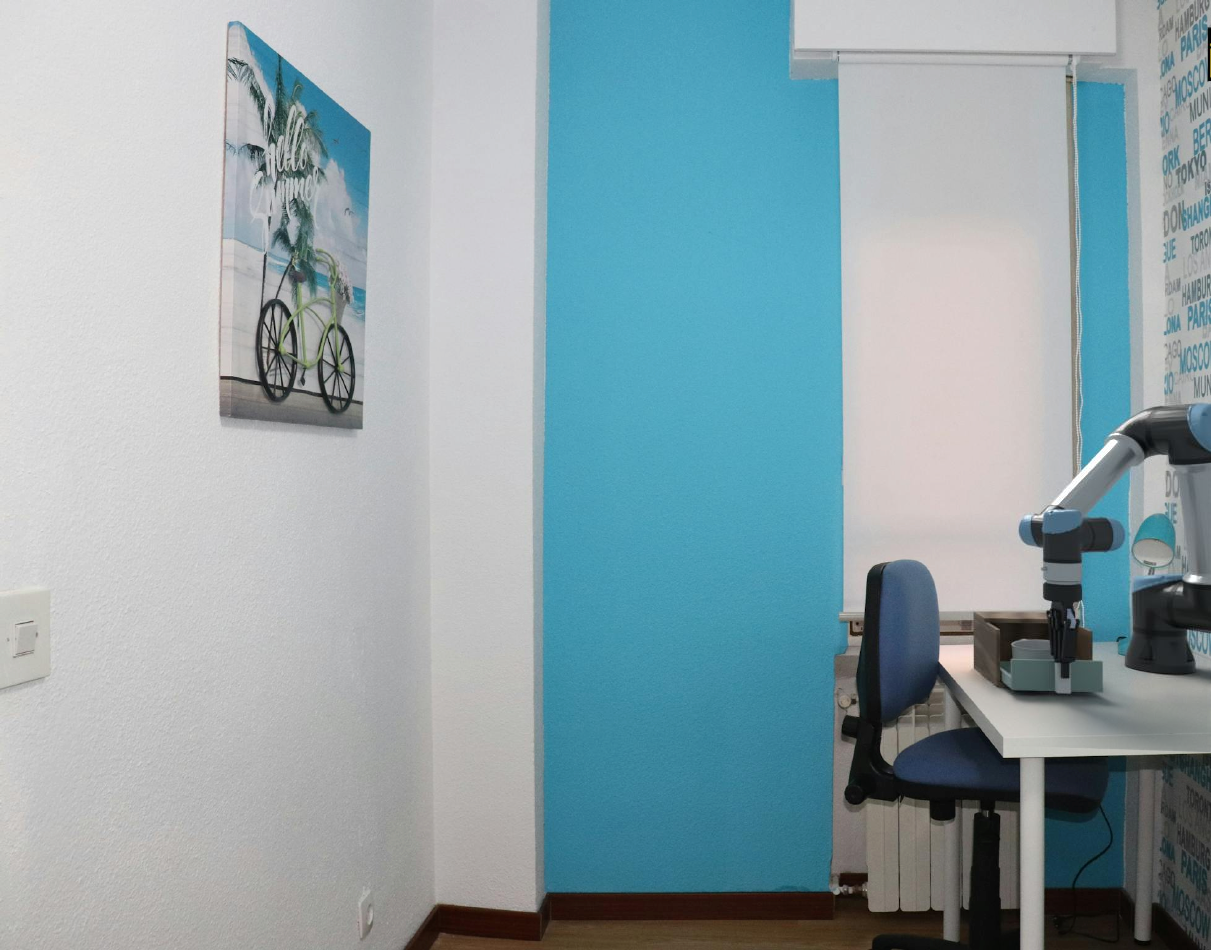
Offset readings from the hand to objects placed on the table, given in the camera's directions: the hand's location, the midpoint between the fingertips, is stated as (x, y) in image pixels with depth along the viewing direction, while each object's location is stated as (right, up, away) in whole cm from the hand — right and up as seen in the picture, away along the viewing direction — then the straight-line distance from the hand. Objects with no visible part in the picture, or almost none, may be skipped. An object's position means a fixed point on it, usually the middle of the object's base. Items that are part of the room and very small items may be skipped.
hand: (1062, 692), depth 198 cm
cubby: (+3, -2, +21) cm, 21 cm away
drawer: (+2, 0, +13) cm, 13 cm away
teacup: (0, 0, +13) cm, 13 cm away
